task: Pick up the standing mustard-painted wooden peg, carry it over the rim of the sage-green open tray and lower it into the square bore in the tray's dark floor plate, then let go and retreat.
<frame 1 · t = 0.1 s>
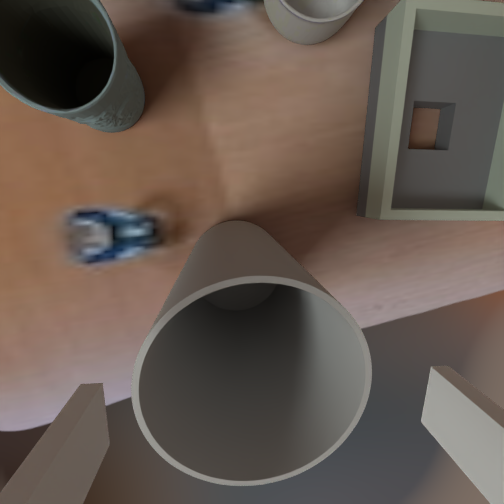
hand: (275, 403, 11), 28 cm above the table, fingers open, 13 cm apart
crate: (428, 130, 37), on the table
grey-green cup: (111, 95, 32), on the table
cylinder vase: (236, 263, 39), on the table
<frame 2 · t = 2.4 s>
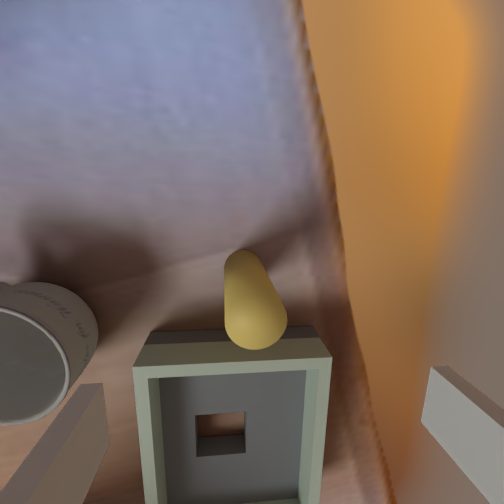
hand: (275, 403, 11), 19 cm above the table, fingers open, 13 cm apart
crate: (233, 415, 33), on the table
teacup: (48, 307, 28), on the table
peg: (243, 268, 29), on the table
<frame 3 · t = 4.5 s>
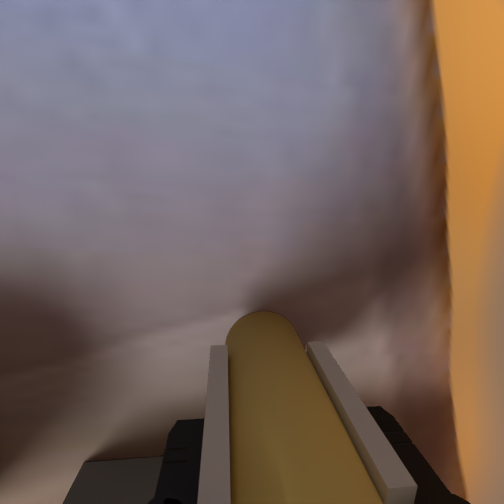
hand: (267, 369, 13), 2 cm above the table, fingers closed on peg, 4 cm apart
peg: (261, 344, 15), on the table, touching gripper
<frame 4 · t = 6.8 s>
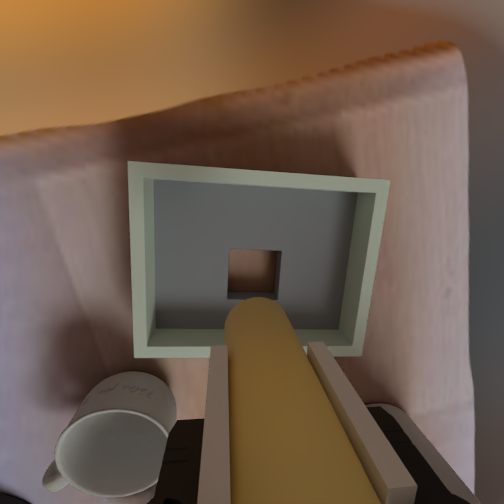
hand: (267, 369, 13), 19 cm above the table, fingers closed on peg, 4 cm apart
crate: (252, 256, 31), on the table
teacup: (127, 400, 34), on the table
peg: (256, 327, 17), point 15 cm above the table, touching gripper
cylinder vase: (368, 436, 39), on the table
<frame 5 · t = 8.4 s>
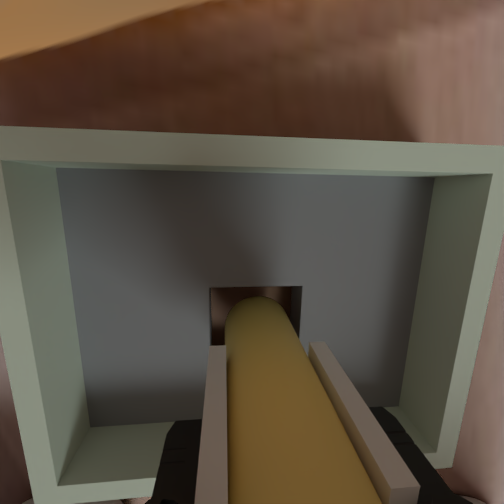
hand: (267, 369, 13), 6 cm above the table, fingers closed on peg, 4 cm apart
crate: (251, 292, 19), on the table
peg: (256, 326, 17), point 2 cm above the table, touching gripper
when the fingers open (4 cm above the table, at t = 9.1 s): peg stays where it is, resting in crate.
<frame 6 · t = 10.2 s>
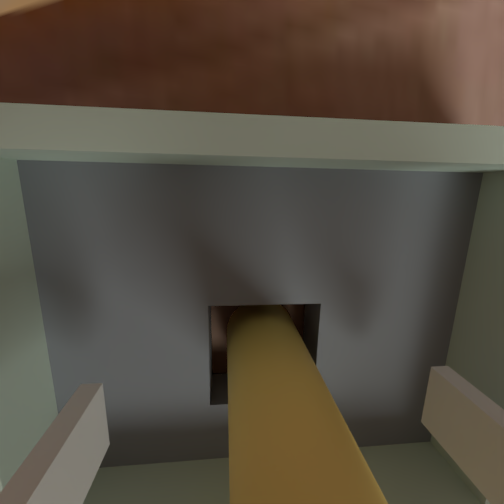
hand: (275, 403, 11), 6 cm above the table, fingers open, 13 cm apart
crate: (258, 308, 16), on the table
peg: (260, 329, 16), resting in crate
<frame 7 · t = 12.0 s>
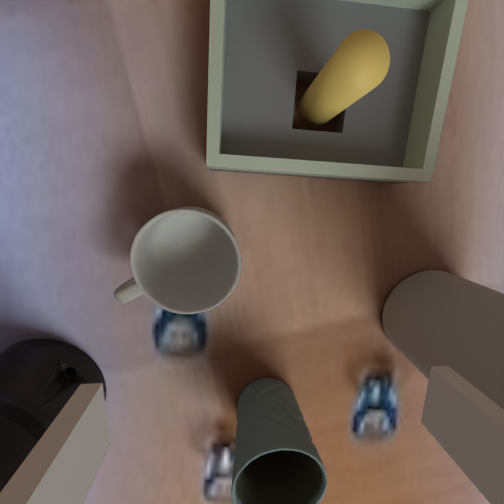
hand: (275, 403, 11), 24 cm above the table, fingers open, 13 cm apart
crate: (315, 94, 31), on the table
teacup: (184, 251, 34), on the table
grey-green cup: (266, 400, 40), on the table
peg: (314, 108, 31), resting in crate
cylinder vase: (421, 310, 38), on the table
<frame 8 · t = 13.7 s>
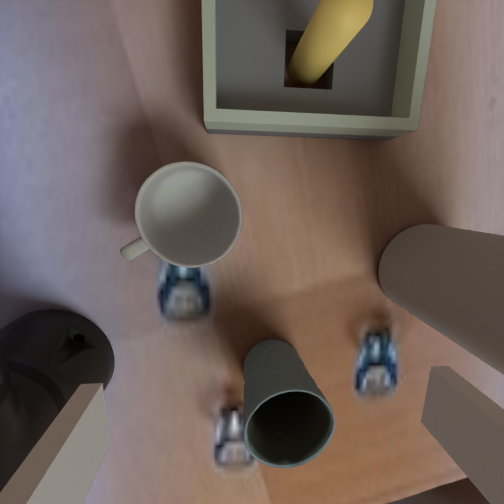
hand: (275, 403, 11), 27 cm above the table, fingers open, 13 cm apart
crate: (304, 56, 32), on the table
teacup: (185, 215, 35), on the table
grey-green cup: (271, 361, 41), on the table
peg: (304, 69, 33), resting in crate
cylinder vase: (415, 265, 40), on the table
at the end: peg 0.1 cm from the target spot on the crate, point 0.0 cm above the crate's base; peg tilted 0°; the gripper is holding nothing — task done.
